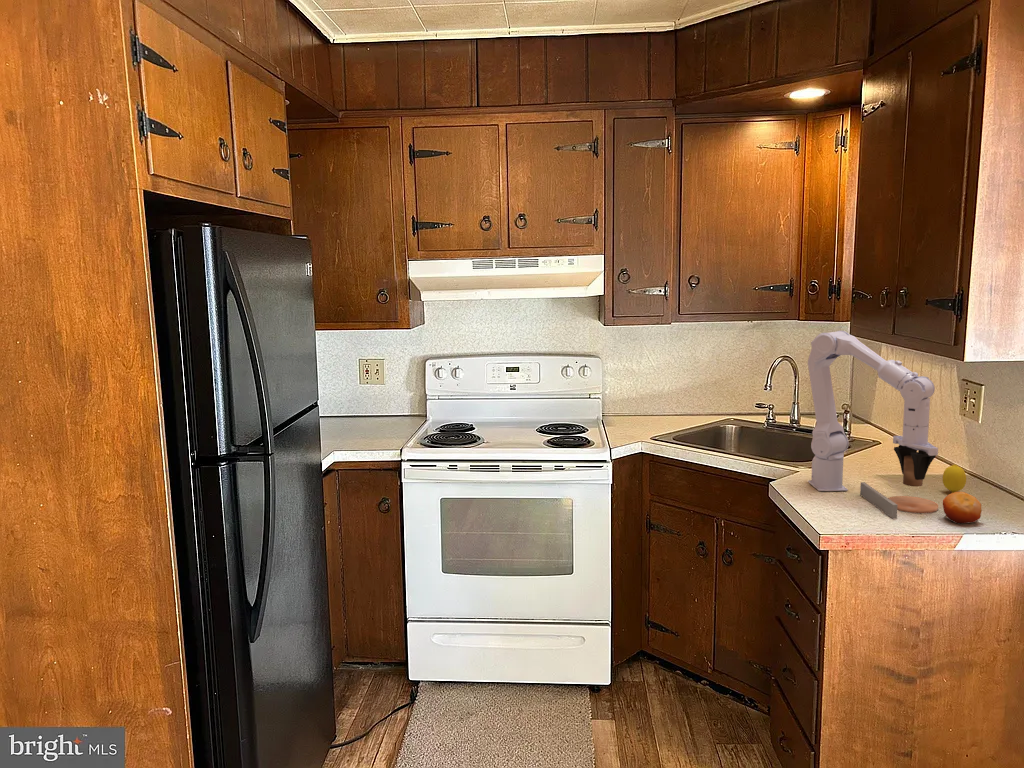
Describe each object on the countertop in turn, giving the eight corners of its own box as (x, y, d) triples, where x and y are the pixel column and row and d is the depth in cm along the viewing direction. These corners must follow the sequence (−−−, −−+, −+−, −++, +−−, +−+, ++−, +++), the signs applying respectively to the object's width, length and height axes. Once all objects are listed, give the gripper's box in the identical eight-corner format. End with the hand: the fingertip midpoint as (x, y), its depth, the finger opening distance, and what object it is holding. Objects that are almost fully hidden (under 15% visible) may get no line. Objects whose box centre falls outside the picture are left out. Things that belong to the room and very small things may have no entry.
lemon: (943, 489, 203) (945, 461, 202) (966, 492, 200) (968, 463, 199) (939, 493, 199) (941, 465, 198) (963, 497, 196) (965, 468, 195)
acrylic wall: (860, 494, 200) (860, 482, 200) (863, 494, 200) (864, 482, 200) (892, 518, 181) (893, 504, 180) (896, 518, 181) (897, 504, 180)
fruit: (961, 507, 183) (974, 485, 178) (978, 532, 177) (992, 510, 172) (929, 508, 183) (941, 486, 178) (945, 533, 177) (958, 511, 172)
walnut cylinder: (899, 482, 191) (900, 456, 190) (914, 481, 191) (916, 454, 190) (910, 486, 187) (911, 460, 186) (926, 485, 187) (927, 459, 186)
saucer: (877, 499, 196) (877, 496, 196) (924, 498, 195) (924, 495, 195) (897, 513, 184) (898, 510, 184) (947, 513, 184) (947, 510, 183)
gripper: (883, 420, 193) (881, 470, 195) (920, 431, 179) (917, 485, 181) (908, 418, 194) (905, 468, 196) (947, 429, 180) (944, 483, 182)
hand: (913, 476), depth 189 cm, fingers closed on walnut cylinder, 4 cm apart
